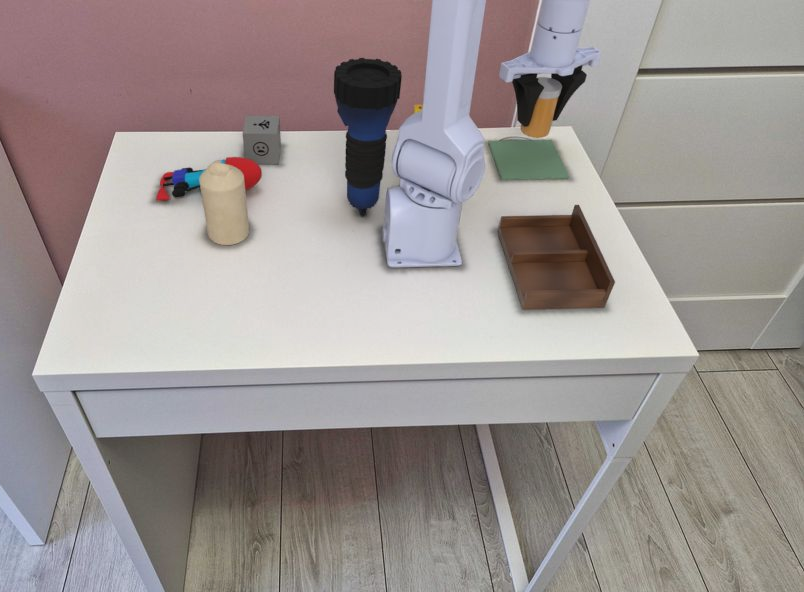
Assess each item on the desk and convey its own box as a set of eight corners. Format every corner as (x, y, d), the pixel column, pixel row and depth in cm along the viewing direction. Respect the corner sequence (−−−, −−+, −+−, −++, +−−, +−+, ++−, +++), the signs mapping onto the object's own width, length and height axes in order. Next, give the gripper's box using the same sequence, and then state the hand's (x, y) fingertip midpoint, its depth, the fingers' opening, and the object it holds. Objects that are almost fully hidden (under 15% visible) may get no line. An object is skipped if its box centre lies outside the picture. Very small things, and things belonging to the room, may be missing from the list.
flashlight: (369, 188, 99) (377, 50, 85) (401, 218, 95) (415, 77, 80) (321, 205, 97) (321, 65, 82) (352, 236, 92) (357, 94, 77)
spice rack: (522, 309, 83) (530, 284, 80) (497, 231, 93) (503, 205, 90) (604, 307, 83) (615, 281, 80) (570, 230, 94) (579, 204, 90)
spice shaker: (529, 140, 99) (540, 94, 94) (514, 125, 102) (523, 79, 97) (556, 135, 100) (568, 89, 95) (539, 120, 103) (551, 74, 98)
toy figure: (159, 213, 97) (263, 200, 95) (147, 182, 94) (254, 168, 92) (169, 186, 103) (268, 172, 101) (158, 156, 100) (260, 141, 98)
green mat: (501, 179, 101) (501, 177, 101) (488, 143, 108) (488, 140, 108) (568, 178, 102) (569, 176, 101) (551, 142, 108) (551, 139, 108)
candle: (256, 225, 93) (250, 160, 86) (239, 249, 90) (231, 184, 83) (219, 216, 95) (209, 151, 87) (200, 240, 91) (189, 175, 84)
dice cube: (278, 164, 103) (277, 133, 100) (245, 163, 103) (242, 133, 100) (281, 146, 107) (279, 116, 103) (248, 145, 107) (245, 115, 103)
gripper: (528, 45, 86) (507, 143, 96) (625, 28, 89) (595, 124, 99) (499, 22, 90) (482, 118, 100) (593, 7, 94) (567, 101, 104)
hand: (536, 120), depth 100 cm, fingers closed on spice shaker, 4 cm apart
